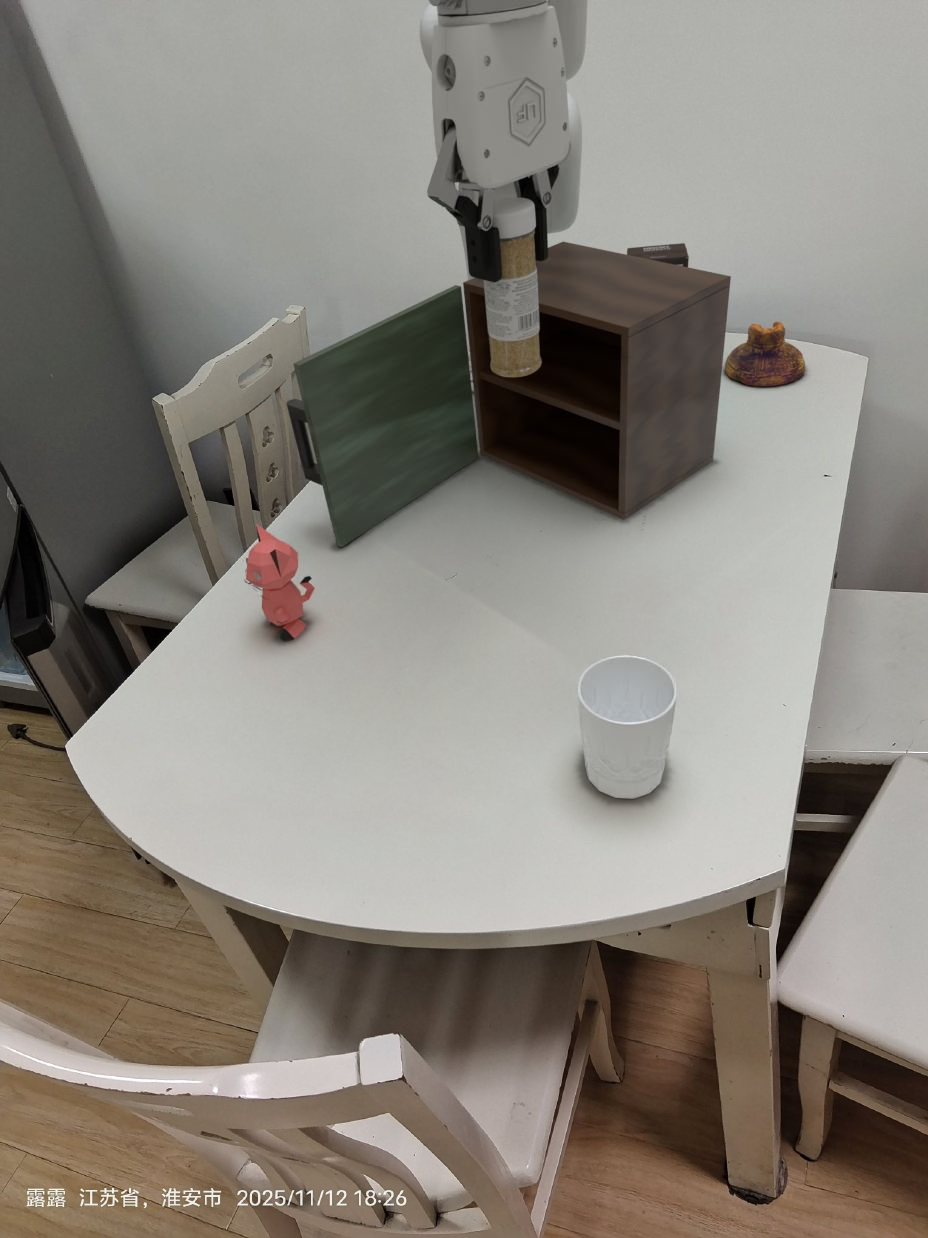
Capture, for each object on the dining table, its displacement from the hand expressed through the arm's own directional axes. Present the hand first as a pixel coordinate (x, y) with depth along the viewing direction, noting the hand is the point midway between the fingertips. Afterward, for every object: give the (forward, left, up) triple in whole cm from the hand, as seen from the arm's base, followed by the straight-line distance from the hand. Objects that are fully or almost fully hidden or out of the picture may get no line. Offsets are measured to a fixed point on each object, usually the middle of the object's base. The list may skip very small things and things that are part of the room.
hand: (508, 265), depth 69 cm
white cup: (+21, -10, -37) cm, 44 cm away
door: (-32, +6, -37) cm, 49 cm away
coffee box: (-32, +61, -37) cm, 78 cm away
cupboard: (-17, +29, -37) cm, 50 cm away
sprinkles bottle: (0, 0, -9) cm, 9 cm away
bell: (-14, +65, -37) cm, 76 cm away
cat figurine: (-19, -19, -37) cm, 46 cm away
